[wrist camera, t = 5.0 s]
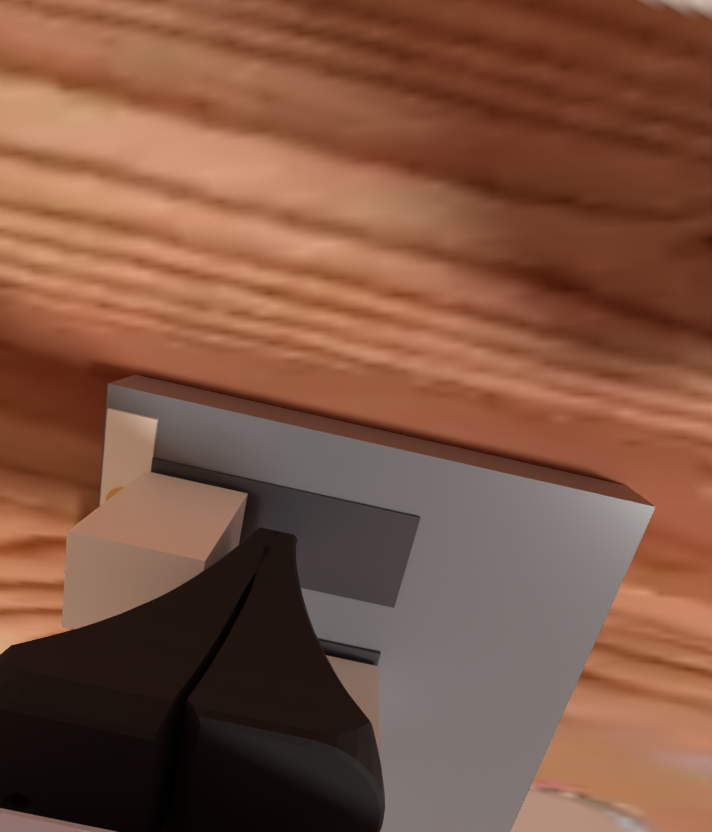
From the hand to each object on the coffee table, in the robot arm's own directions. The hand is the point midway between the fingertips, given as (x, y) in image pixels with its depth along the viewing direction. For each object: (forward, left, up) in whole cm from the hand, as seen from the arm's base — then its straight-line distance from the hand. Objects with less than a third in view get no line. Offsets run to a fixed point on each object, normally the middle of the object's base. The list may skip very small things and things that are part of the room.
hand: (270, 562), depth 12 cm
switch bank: (-2, +5, -3) cm, 6 cm away
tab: (+3, 0, -1) cm, 3 cm away
